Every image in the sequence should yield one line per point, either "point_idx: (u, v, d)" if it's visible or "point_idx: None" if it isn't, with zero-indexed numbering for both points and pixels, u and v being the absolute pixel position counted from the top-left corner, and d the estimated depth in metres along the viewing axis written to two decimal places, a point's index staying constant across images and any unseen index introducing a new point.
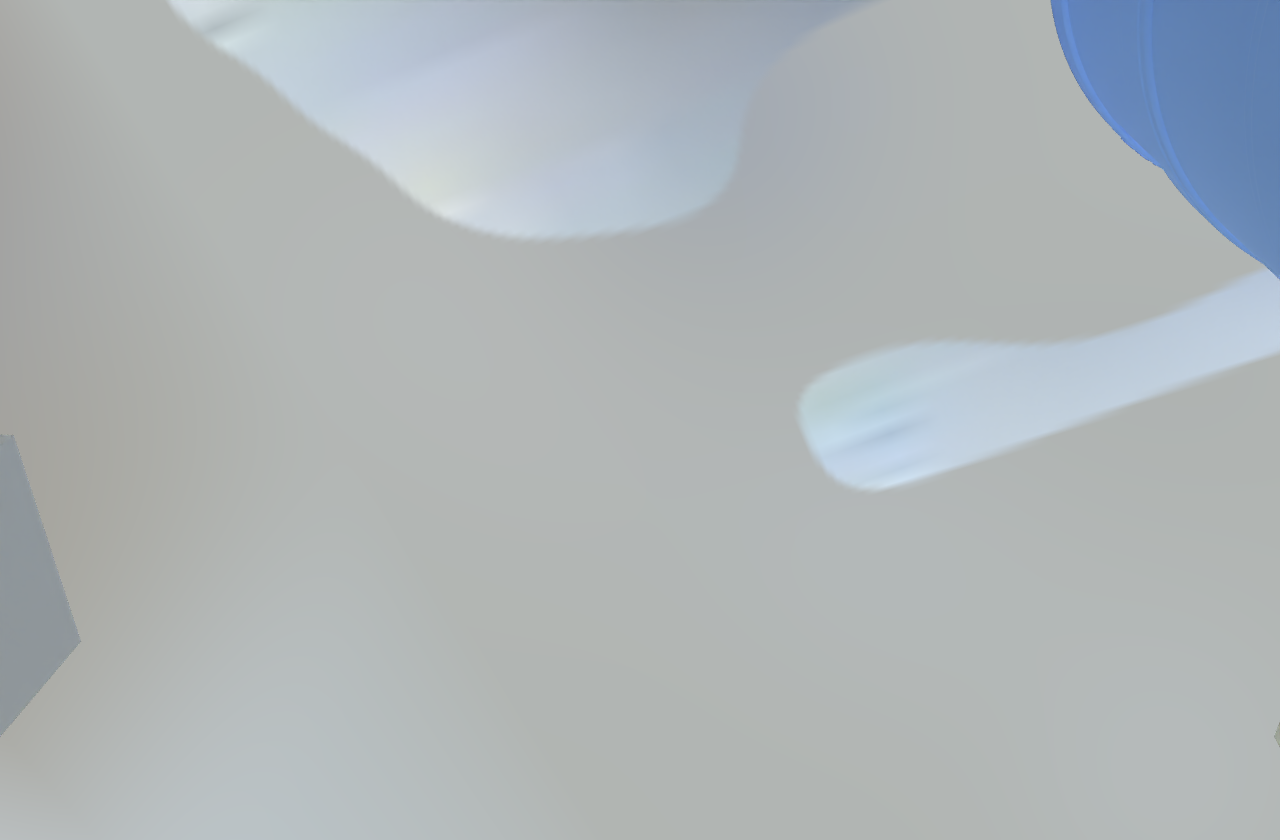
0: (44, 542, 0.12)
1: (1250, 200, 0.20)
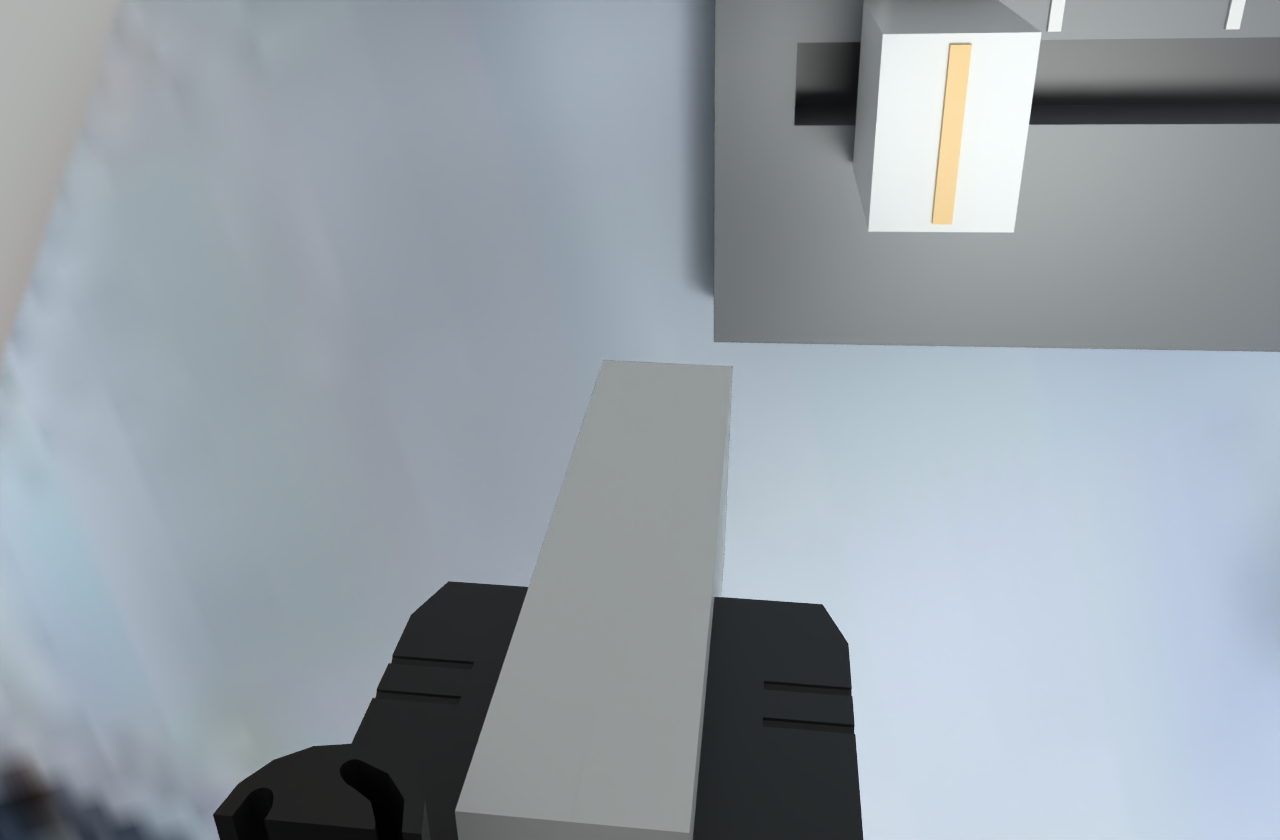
0: None
1: None
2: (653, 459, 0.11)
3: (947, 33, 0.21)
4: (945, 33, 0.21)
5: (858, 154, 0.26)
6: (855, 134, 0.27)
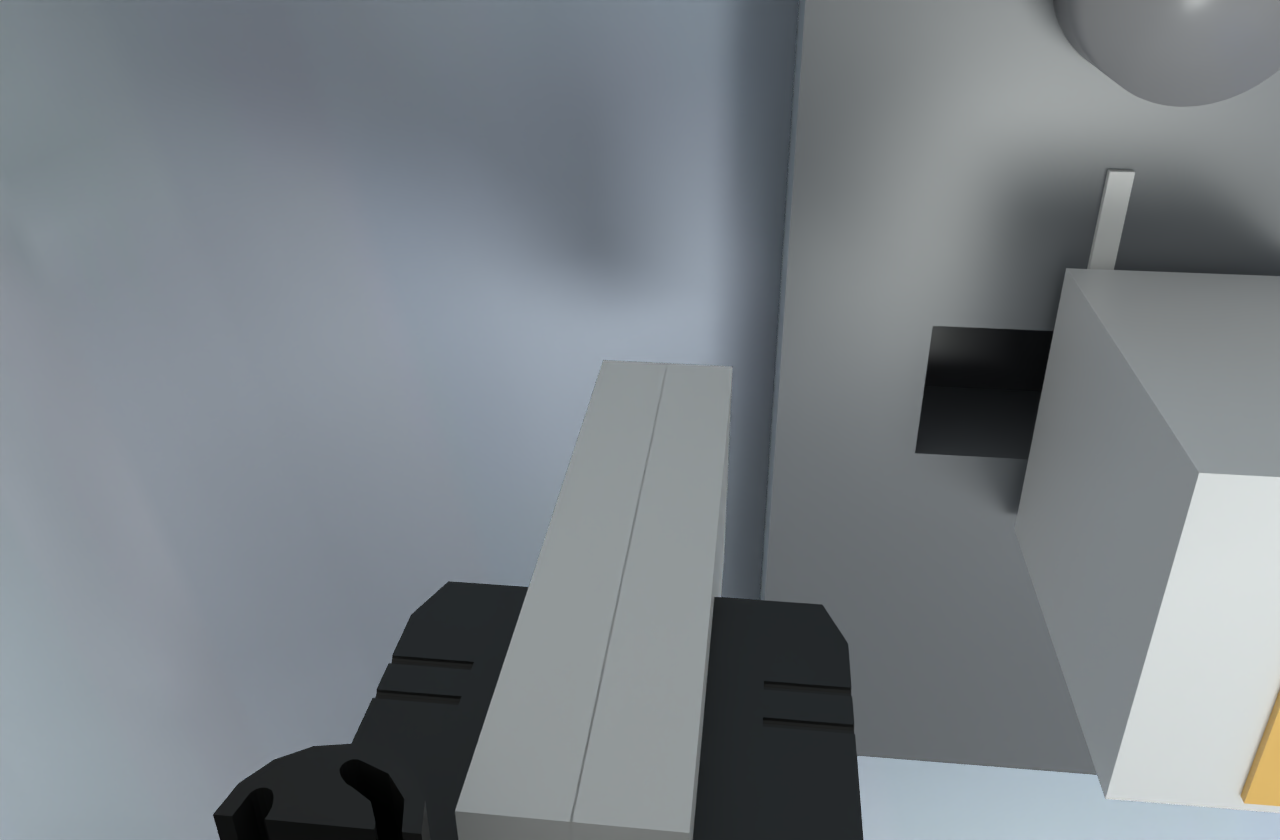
0: None
1: None
2: (653, 459, 0.11)
3: None
4: None
5: (1043, 543, 0.14)
6: (1026, 482, 0.15)
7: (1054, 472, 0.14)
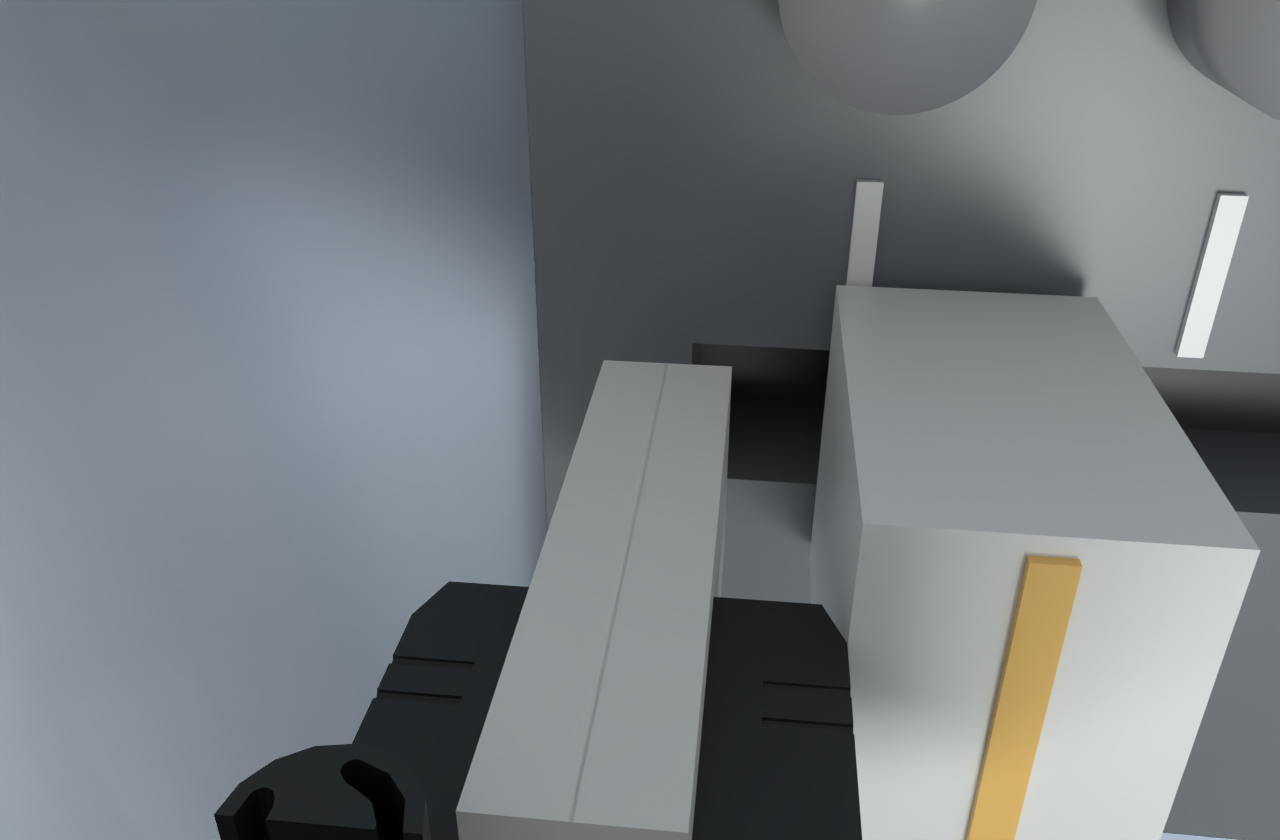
0: None
1: None
2: (652, 459, 0.11)
3: (1022, 534, 0.09)
4: (1017, 533, 0.09)
5: (816, 577, 0.13)
6: (815, 509, 0.14)
7: (822, 502, 0.13)
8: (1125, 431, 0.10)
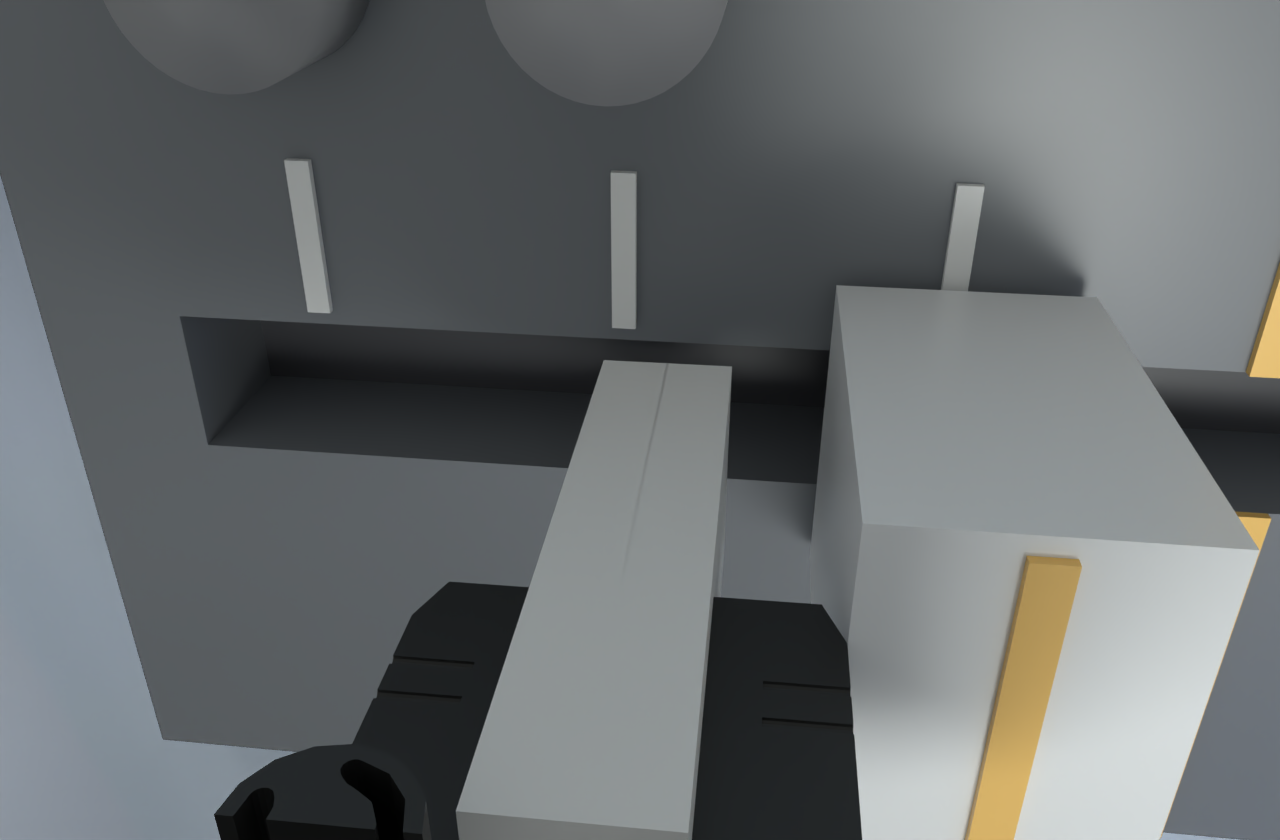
0: None
1: None
2: (652, 459, 0.11)
3: (1022, 533, 0.09)
4: (1017, 533, 0.09)
5: (816, 577, 0.13)
6: (815, 509, 0.14)
7: (822, 502, 0.13)
8: (1125, 431, 0.10)
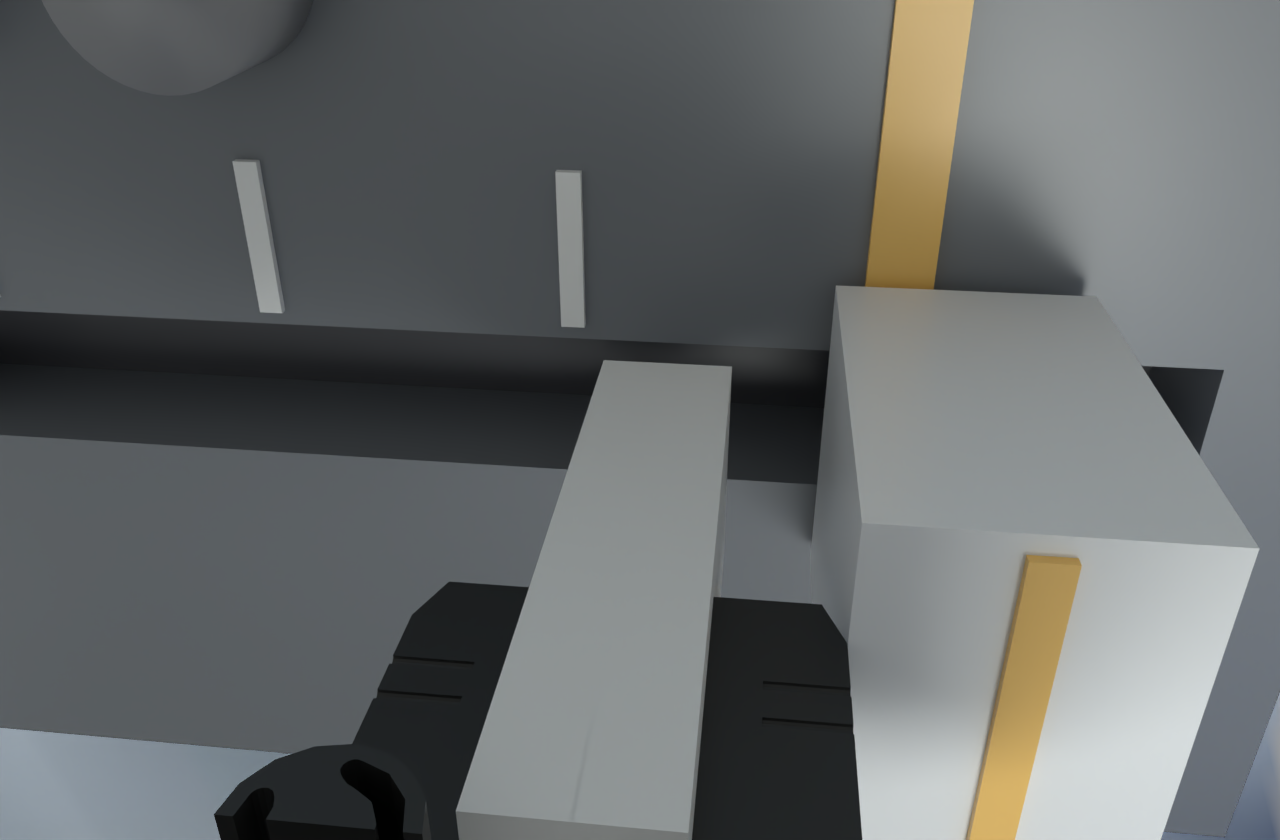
0: None
1: None
2: (652, 459, 0.11)
3: (1022, 533, 0.09)
4: (1017, 533, 0.09)
5: (817, 577, 0.13)
6: (815, 509, 0.14)
7: (823, 502, 0.13)
8: (1124, 430, 0.10)
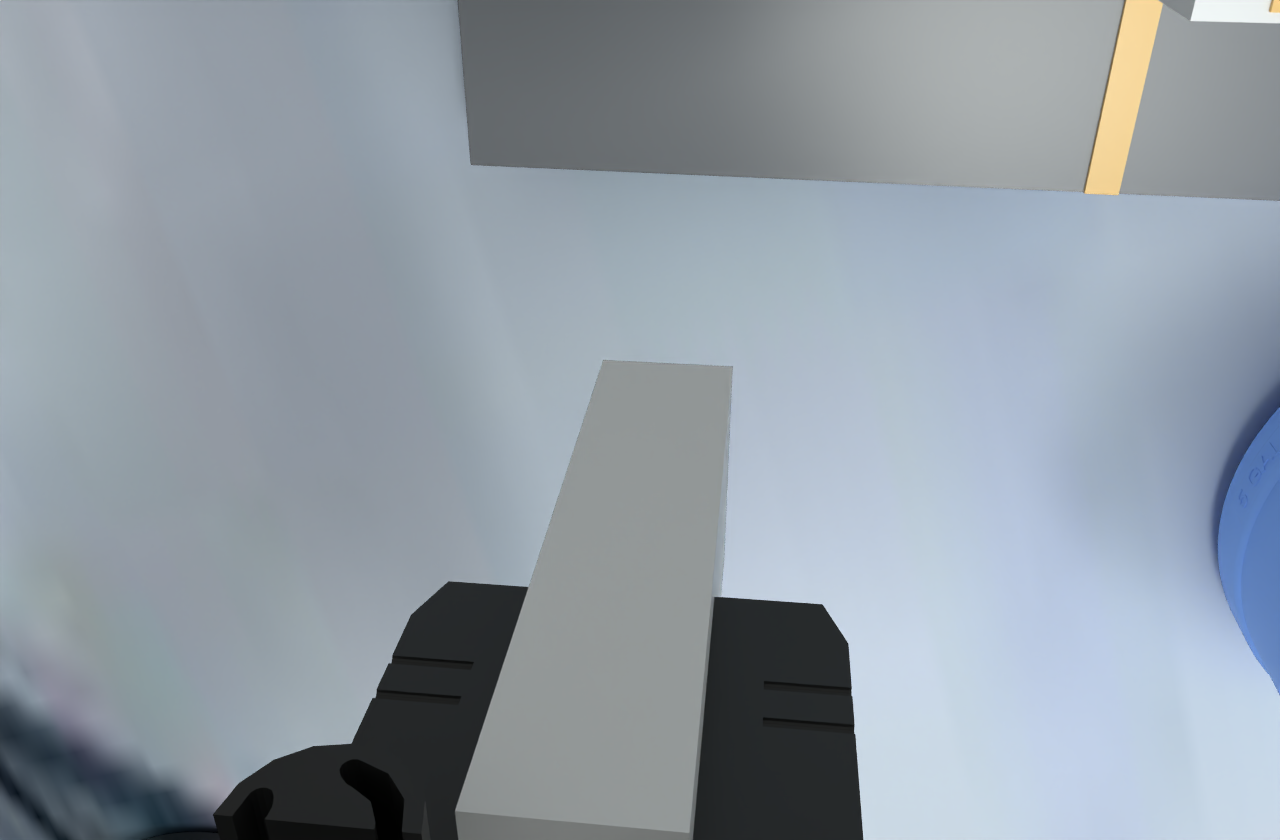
0: None
1: None
2: (653, 459, 0.11)
3: None
4: None
5: None
6: None
7: None
8: None
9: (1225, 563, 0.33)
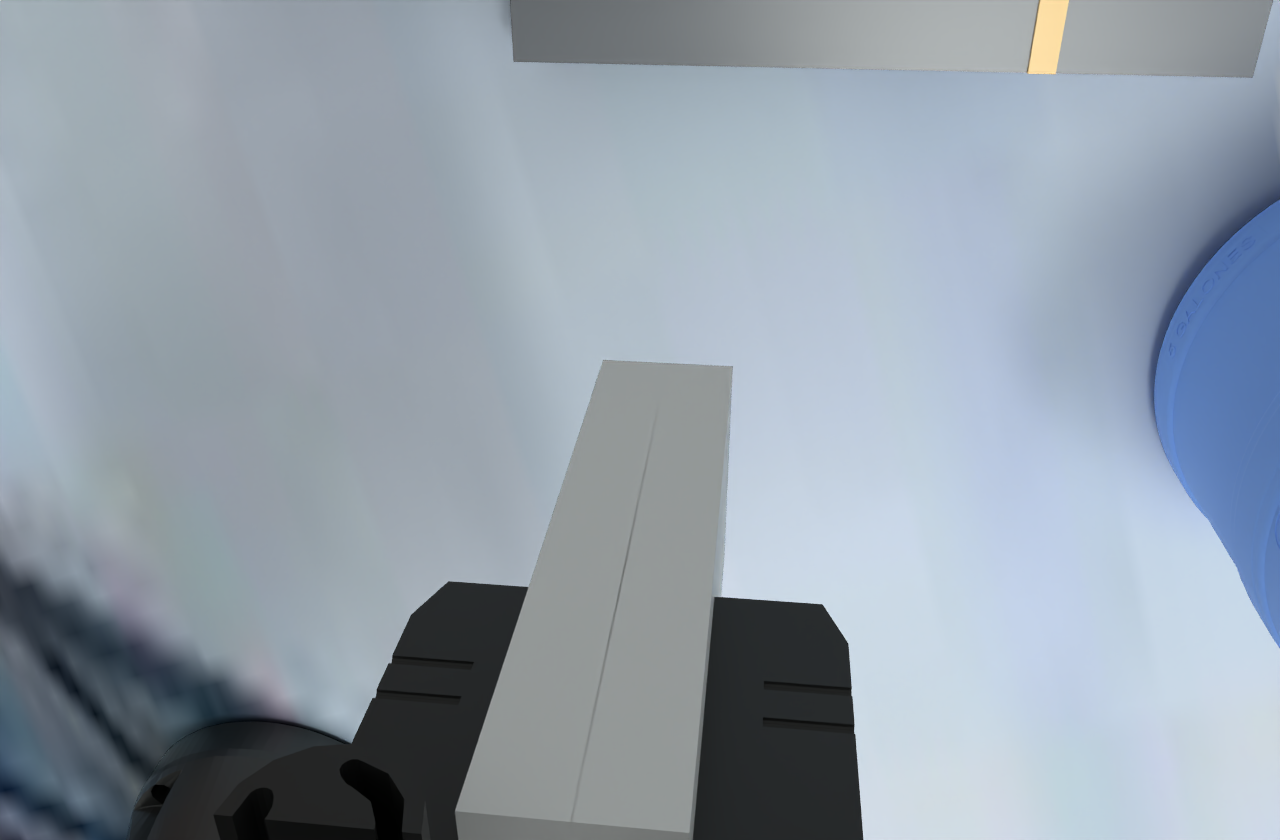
0: None
1: None
2: (652, 459, 0.11)
3: None
4: None
5: None
6: None
7: None
8: None
9: (1160, 412, 0.39)
